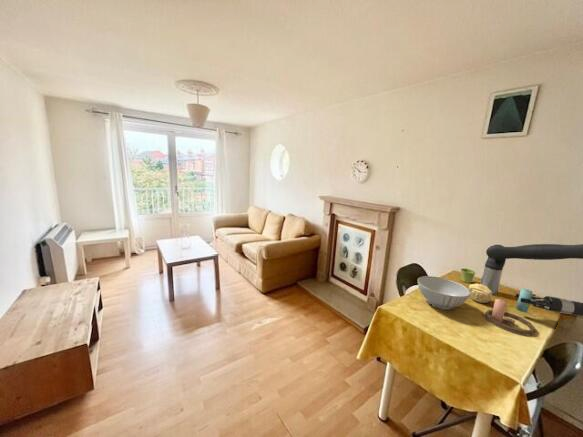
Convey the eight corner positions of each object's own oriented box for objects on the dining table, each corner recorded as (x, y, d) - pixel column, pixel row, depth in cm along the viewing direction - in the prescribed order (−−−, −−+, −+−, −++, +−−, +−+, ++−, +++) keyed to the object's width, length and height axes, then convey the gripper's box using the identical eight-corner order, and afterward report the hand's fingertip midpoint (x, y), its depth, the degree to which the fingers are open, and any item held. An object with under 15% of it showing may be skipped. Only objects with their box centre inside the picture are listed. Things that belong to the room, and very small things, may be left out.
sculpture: (464, 298, 150) (467, 283, 148) (470, 294, 157) (473, 279, 155) (487, 307, 141) (490, 290, 139) (492, 301, 148) (496, 285, 146)
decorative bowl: (459, 323, 123) (463, 301, 121) (407, 301, 143) (410, 282, 141) (472, 306, 141) (475, 287, 139) (424, 289, 160) (426, 272, 158)
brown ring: (480, 319, 128) (480, 315, 127) (491, 309, 138) (492, 306, 138) (528, 339, 112) (529, 336, 112) (537, 327, 123) (538, 323, 123)
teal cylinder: (514, 309, 133) (520, 289, 131) (517, 307, 136) (522, 287, 133) (526, 313, 129) (531, 293, 127) (528, 311, 132) (533, 291, 130)
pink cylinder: (489, 320, 127) (494, 300, 125) (492, 318, 129) (496, 298, 127) (500, 325, 123) (505, 304, 121) (503, 322, 126) (507, 301, 124)
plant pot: (470, 280, 180) (473, 269, 178) (476, 285, 171) (478, 274, 170) (456, 278, 183) (458, 267, 181) (461, 282, 174) (463, 271, 173)
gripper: (551, 292, 132) (513, 286, 138) (570, 305, 119) (527, 297, 125) (547, 304, 134) (510, 297, 139) (565, 318, 120) (523, 310, 126)
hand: (518, 297), depth 132 cm, fingers closed on teal cylinder, 4 cm apart
